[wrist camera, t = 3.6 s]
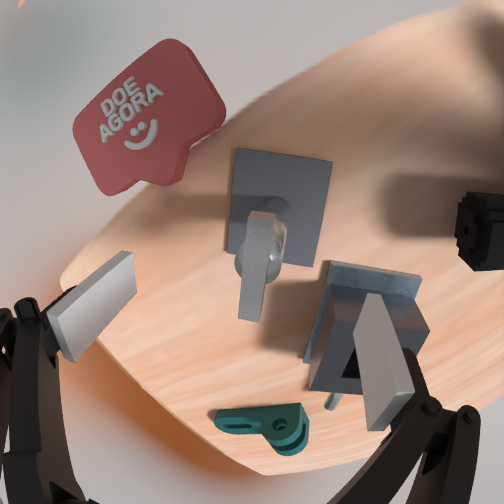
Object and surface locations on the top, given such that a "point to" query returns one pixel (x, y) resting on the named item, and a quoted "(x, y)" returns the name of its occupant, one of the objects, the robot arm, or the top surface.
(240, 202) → the mat
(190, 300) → the top surface
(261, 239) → the silver grey long piece
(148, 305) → the top surface
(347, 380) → the hollow square block
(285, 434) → the bracket
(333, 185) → the top surface
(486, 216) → the security camera
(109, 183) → the plaque
